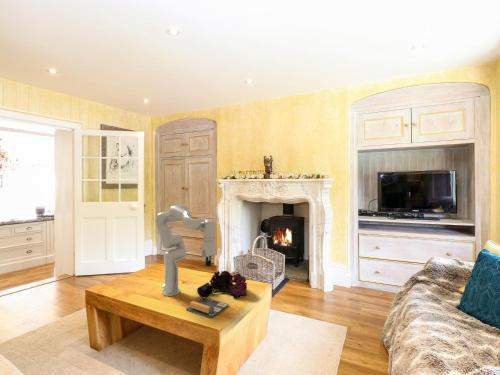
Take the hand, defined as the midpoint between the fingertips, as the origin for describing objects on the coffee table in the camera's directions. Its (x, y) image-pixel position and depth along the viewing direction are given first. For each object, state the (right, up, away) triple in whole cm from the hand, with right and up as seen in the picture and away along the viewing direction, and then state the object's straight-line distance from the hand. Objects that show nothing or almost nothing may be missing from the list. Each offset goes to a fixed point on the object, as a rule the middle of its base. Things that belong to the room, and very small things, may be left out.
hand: (208, 265), depth 171 cm
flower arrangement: (+12, -26, +22) cm, 36 cm away
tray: (0, -26, -4) cm, 27 cm away
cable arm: (-2, -24, -10) cm, 27 cm away
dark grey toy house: (-5, -26, +17) cm, 31 cm away
